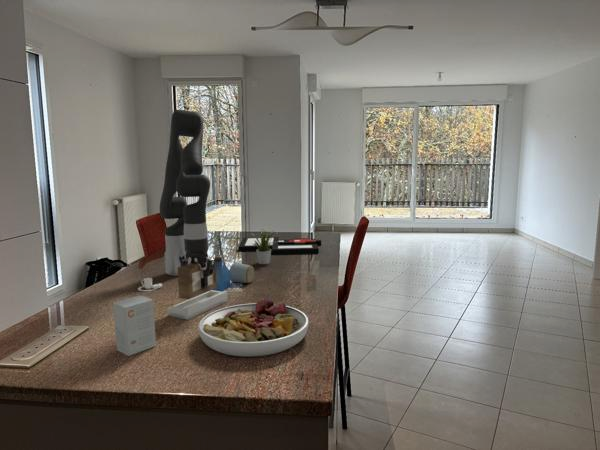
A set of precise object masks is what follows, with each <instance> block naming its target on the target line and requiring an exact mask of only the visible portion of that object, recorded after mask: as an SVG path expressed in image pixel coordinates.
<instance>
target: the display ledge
mask: <svg viewBox="0 0 600 450" xmlns="http://www.w3.org/2000/svg"><path fill="white" fill-rule="evenodd" d="M228 297H229V296H228V290H224V291H214V290H210V291H208V292H205V293H203V294H201V295H198V296H196V297H193V298H191V299H185V300H184V301H181V302H180V303H177V304H174V305H173V306H170V307H167V308H168V309H167V311H168V312H167V315H168V316H169V317H172V318H178V319H183V320H191V319H193V318H195V317H197V316H199V315H201V314H203V313H205V312H207V311H209V310H212V309H214V308H216V307H218V306H220V305H222V304H224V303H226V302H228V299H229V298H228Z"/></svg>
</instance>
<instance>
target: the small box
mask: <svg viewBox="0 0 600 450" xmlns="http://www.w3.org/2000/svg"><path fill="white" fill-rule="evenodd" d="M112 308H113V309H112V311H113V321H114V333H115V344H116V351H118V352H120V353H122V354H124V355H126V356H127V357H130V356H133V355H136V354H138V353H141V352H143V351H146V350H148V349H151V348H154V347H156V346H157V341H156V340H157V339H156V336H157V335H156V325H155V312H154V311H155V310H154V299H152V298H149V297H147V296H144V295H137V296H133V297H128V298H125V299H122V300H118V301H115V302H112Z"/></svg>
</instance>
